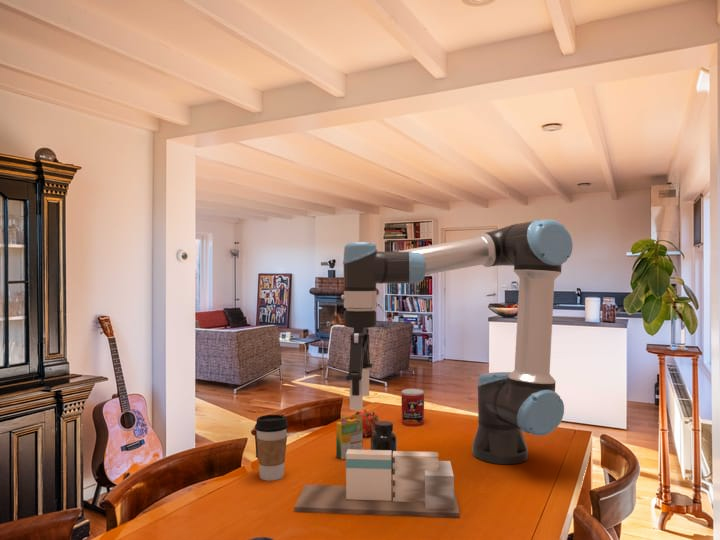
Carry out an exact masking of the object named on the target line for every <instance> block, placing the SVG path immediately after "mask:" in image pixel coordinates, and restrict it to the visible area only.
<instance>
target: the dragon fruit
mask: <svg viewBox="0 0 720 540" xmlns="http://www.w3.org/2000/svg"><path fill="white" fill-rule="evenodd" d="M359 414H362V429H363V436H364V437H365V438H367V437H368V436H371V435H372V434H373V432H375V430H374V428H375V422H378V421H379V416H378V415H377V414H376V413H375V412H374V411H370V412H368V411H367V410H366V409H363V411H360V410H356V412H355V414H352V415H351V416H354V415H359ZM353 419H357V418H350V419H349V420H353Z"/></svg>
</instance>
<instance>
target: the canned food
mask: <svg viewBox="0 0 720 540" xmlns="http://www.w3.org/2000/svg"><path fill="white" fill-rule="evenodd" d="M400 397H401V398H400V399H401V422H402V424H403V425H404V426H407V427H421V426H423V425H424V422H425V391H424V390H422V389H418V388H406V389H402V390H401V396H400Z"/></svg>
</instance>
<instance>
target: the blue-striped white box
mask: <svg viewBox="0 0 720 540" xmlns="http://www.w3.org/2000/svg"><path fill="white" fill-rule="evenodd" d="M345 486H346V499H354V500H383V501H391V500H392V487H393V472H392V450H371V449H363V450H354V449H347V452H346V459H345Z"/></svg>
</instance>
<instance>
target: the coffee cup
mask: <svg viewBox="0 0 720 540" xmlns="http://www.w3.org/2000/svg"><path fill="white" fill-rule="evenodd" d="M288 428H289V423H288V419H287V416H285V415H283V414H266V415H265V414H264V415H261V416H258V417H257V418H256V423H255V425H254V430H255V431H256V436H255V438H256V449H257V459H258V468H259V469H258V470H259V479H261V480H263V481H269V482H270V481H272V482H273V481H277V480H281V479H282V478H284V476H285V461H286V453H287V452H286V450H287V439H288V435H287V431H288V430H287V429H288Z"/></svg>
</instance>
